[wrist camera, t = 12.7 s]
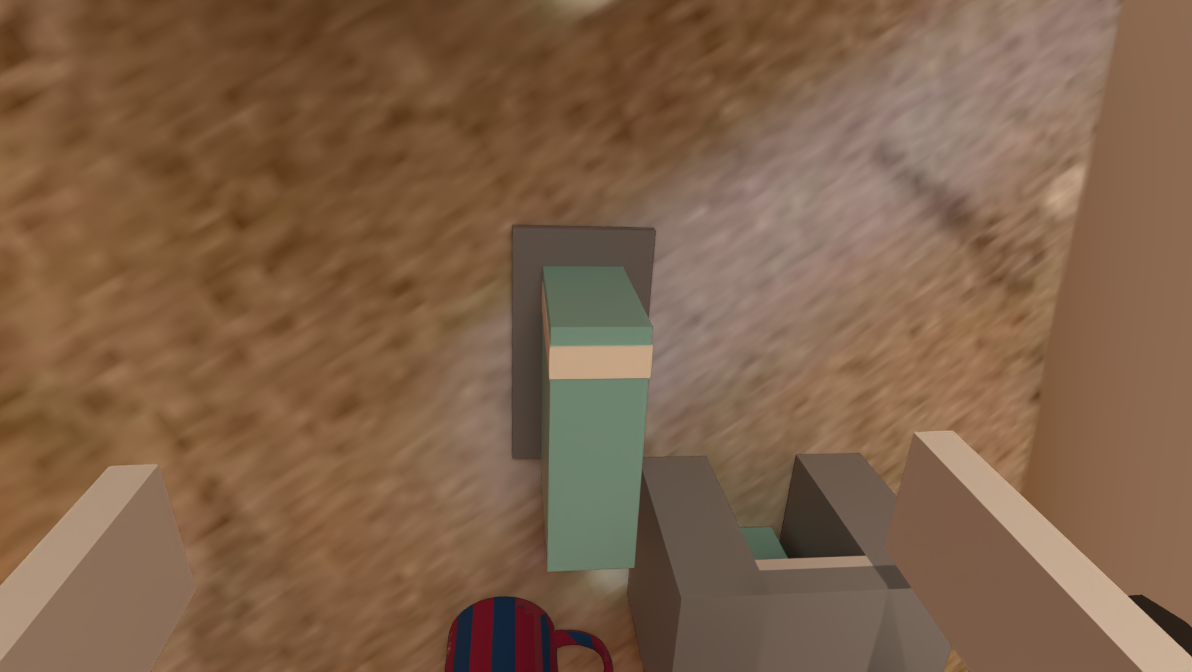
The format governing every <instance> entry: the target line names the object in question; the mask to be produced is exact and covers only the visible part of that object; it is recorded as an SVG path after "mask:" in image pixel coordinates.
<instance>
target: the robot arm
mask: <svg viewBox="0 0 1192 672" xmlns="http://www.w3.org/2000/svg"><path fill="white" fill-rule="evenodd" d="M884 549H885V550H886V552H887V553H888V554H889V556H890V557H891V559H892V560H893V562H894V563H895V565H896V566H897V568H898V569H899V570H900V572H901V573H902V575H903V576H904V578H905V579H906V581H907V582H908V583H909V585H910V586H911V588H912V589H913V591H914V592H915V594H916V595H917V596H918V598H919V599H920V601H921V602H922V604H923V605H924V607H925V608H926V609H927V611H928V612H929V614H930V615H931V617H932V618H933V620H934V621H935V623H936V624H937V625H938V627H939V628H940V630H941V631H942V633H943V634H944V636H945V637H946V638H947V640H948V641H949V643H950V644H951V646H952V647H953V649H954V650H955V651H956V653H957V654H958V656H959V657H960V659H961V660H962V662H963V663H964V664H965V666H966V667H967V669H968V670H969V672H1192V627H1191V626H1190V625H1189V624H1188V623H1186V622H1185V621H1183V620H1182V619H1180V618H1178V617H1177V616H1175V615H1174V614H1172V613H1170V612H1169V611H1167V610H1166V609H1164V608H1163V607H1161V606H1159V605H1158V604H1156V603H1154V602H1153V601H1151V600H1150V599H1148V598H1146V597H1145V596H1143V595H1132V596H1127V595H1126V594H1125V593H1124V592H1123V591H1122V590H1120V589H1119V588H1118V587H1117V586H1116V585H1115V584H1114V583H1113V582H1112V581H1111V580H1110V579H1109V578H1108V577H1107V576H1106V575H1105V574H1104V573H1102V571H1100V570H1099V569H1098V568H1097V567H1096V566H1095V565H1094V564H1093V563H1092V562H1091V561H1090V560H1089V559H1088V558H1087V557H1086V556H1084V554H1083V553H1081V552H1080V551H1079V550H1078V549H1077V548H1076V547H1075V546H1074V545H1073V544H1072V543H1071V542H1070V541H1069V540H1068V539H1067V538H1065V536H1064V535H1063V534H1061V533H1060V532H1059V531H1058V530H1057V529H1056V528H1055V527H1054V526H1053V525H1052V524H1051V523H1050V522H1049V521H1048V520H1047V519H1046V518H1045V517H1044V516H1043V515H1041V514H1040V513H1039V512H1038V511H1037V510H1036V509H1035V508H1034V507H1033V506H1032V505H1031V504H1030V503H1029V502H1028V501H1027V500H1026V499H1025V498H1024V497H1022V496H1021V495H1020V494H1019V493H1018V492H1017V491H1016V490H1015V489H1014V488H1013V487H1012V486H1011V485H1010V484H1009V483H1008V482H1007V481H1006V480H1005V479H1004V478H1002V477H1001V476H1000V475H999V474H998V473H997V472H996V471H995V470H994V469H993V468H992V467H991V466H990V465H989V464H988V463H987V462H986V461H985V460H983V459H982V458H981V457H980V456H979V455H978V454H977V453H976V452H975V451H974V450H973V449H972V448H971V447H970V446H969V445H968V444H967V443H966V442H965V441H963V440H962V439H961V438H960V437H959V436H958V435H957V434H956V433H955V432H954V431H931V432H914V434H913V438H912V441H911V445H910V449H909V453H908V457H907V461H906V465H905V469H904V473H903V477H902V481H901V485H900V489H899V492H898V496H897V500H896V504H895V508H894V512H893V516H892V520H891V524H890V528H889V532H888V536H887V540H886V544H885V547H884ZM196 590H197V589H196V586H195V582H194V579H193V576H192V572H191V569H190V566H189V563H188V559H187V556H186V553H185V549H184V546H183V543H182V539H181V536H180V533H179V529H178V526H177V523H176V519H175V516H174V513H173V509H172V506H171V503H170V499H169V496H168V493H167V489H166V486H165V483H164V480H163V476H162V473H161V470H160V466H159V464H148V465H124V466H109V467H108V468H107V469H106V470H105V471H104V472H103V473H102V475H101V476H100V477H99V478H98V479H97V480H96V481H95V482H94V483H93V484H92V486H91V487H90V488H89V489H88V490H87V491H86V492H85V493H84V494H83V495H82V496H81V498H80V499H79V500H78V501H77V502H76V503H75V504H74V505H73V506H72V507H71V509H70V510H69V511H68V512H67V513H66V514H65V515H64V516H63V517H62V518H61V520H60V521H59V522H58V523H57V524H56V525H55V526H54V527H53V528H52V529H51V531H50V532H49V533H48V534H47V535H46V536H45V537H44V538H43V539H42V540H41V541H40V543H39V544H38V545H37V546H36V547H35V548H34V549H33V550H32V551H31V552H30V554H29V555H28V556H27V557H26V558H25V559H24V560H23V561H22V562H21V563H20V565H19V566H18V567H17V568H16V569H15V570H14V571H13V572H12V573H11V574H10V576H9V577H8V578H7V579H6V580H5V581H4V582H3V583H2V584H1V585H0V672H151V670H152V669H153V667H154V665H155V663H156V661H157V660H158V658H159V656H160V654H161V653H162V651H163V649H164V647H165V645H166V644H167V642H168V640H169V638H170V636H171V635H172V633H173V631H174V629H175V628H176V626H177V624H178V622H179V620H180V619H181V617H182V615H183V613H184V612H185V610H186V608H187V606H188V604H189V603H190V601H191V599H192V597H193V595H194V594H195V592H196Z"/></svg>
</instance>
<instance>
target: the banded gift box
mask: <svg viewBox="0 0 1192 672" xmlns="http://www.w3.org/2000/svg"><path fill="white" fill-rule="evenodd" d="M542 316H543V321H542V424H541V479H542V495H543V510H544V526H545V542H546V558H547V572H553V571H575V570H596V569H618V568H634V564H635V551H636V538H637V525H638V512H639V499H640V486H641V473H642V460H643V447H644V434H645V421H646V408H647V395H648V382H649V378H651V366H652V353H653V345H652V330H653V326H652V324H651V322H650V320H649V318H648V316H647V314H646V312H645V310H644V308H643V306H642V304H641V302H640V300H639V298H638V296H637V294H636V292H635V290H634V288H633V286H632V284H631V282H630V280H629V278H628V276H627V274H626V272H625V270H624V267H593V266H543V282H542Z"/></svg>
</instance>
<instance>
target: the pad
mask: <svg viewBox="0 0 1192 672" xmlns="http://www.w3.org/2000/svg"><path fill="white" fill-rule="evenodd" d="M655 235H656V230H655V229H654V228H638V227H592V226H547V225H513V374H512V458H541V424H542V321H543V316H542V282H543V266H593V267H624V270H625V272H626V274H627V276H628V278H629V280H630V282H631V284H632V286H633V288H634V290H635V292H636V294H637V296H638V298H639V300H640V302H641V304H642V306H643V308H644V310H645V312H646V314H647V316H648V318H649V306H650V294H651V283H652V271H653V259H654V247H655Z"/></svg>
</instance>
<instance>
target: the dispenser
mask: <svg viewBox="0 0 1192 672" xmlns="http://www.w3.org/2000/svg"><path fill="white" fill-rule="evenodd" d="M896 500H897V496H896V495H895V494H894V493H893V492H892V490H891V489H890V488H889V487H888V486H887V485H886V483H885V482H884V481H883V480H882V479H881V477H880V476H879V475H878V474H877V473H876V472H875V470H874V469H873V468H872V467H871V466H870V465H869V463H868V462H867V461H866V460H865V459H864V457H863V456H862V455H861V454H860V453H852V454H800V455H796V459H795V464H794V469H793V475H792V480H791V485H790V490H789V496H788V501H787V506H786V512H785V517H784V522H783V527H782V533H781V538H780V543H779V541H778V539H777V537H776V535H775V533H774V531H773V529H772V528H771V527H751V528H740V527H739V525H738V523H737V521H736V519H735V517H734V515H733V512H732V510H731V508H730V506H729V504H728V502H727V500H726V497H725V495H724V493H723V491H722V489H721V487H720V485H719V483H718V480H717V478H716V476H715V474H714V472H713V470H712V468H711V465H710V463H709V461H708V459H707V457H706V456H696V457H643V460H642V473H641V486H640V499H639V512H638V525H637V538H636V551H635V564H634V568H629V578H628V590H627V593H628V598H629V603H630V608H631V612H632V617H633V622H634V627H635V632H636V637H637V641H638V646H639V651H640V656H641V661H642V666H643V670H644V672H944V669H945V666H946V663H947V660H948V657H949V654H950V651H951V648H952V646H951V644H950V643H949V641H948V640H947V638H946V637H945V636H944V634H943V633H942V631H941V630H940V628H939V627H938V625H937V624H936V623H935V621H934V620H933V618H932V617H931V615H930V614H929V612H928V611H927V609H926V608H925V607H924V605H923V604H922V602H921V601H920V599H919V598H918V596H917V595H916V594H915V592H914V591H913V589H912V588H911V586H910V585H909V583H908V582H907V581H906V579H905V578H904V576H903V575H902V573H901V572H900V570H899V569H898V568H897V566H896V565H895V563H894V562H893V560H892V559H891V557H890V556H889V554H888V553H887V552H886V550H885V549H884V547H885V544H886V540H887V536H888V532H889V528H890V524H891V520H892V516H893V512H894V508H895V504H896Z"/></svg>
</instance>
